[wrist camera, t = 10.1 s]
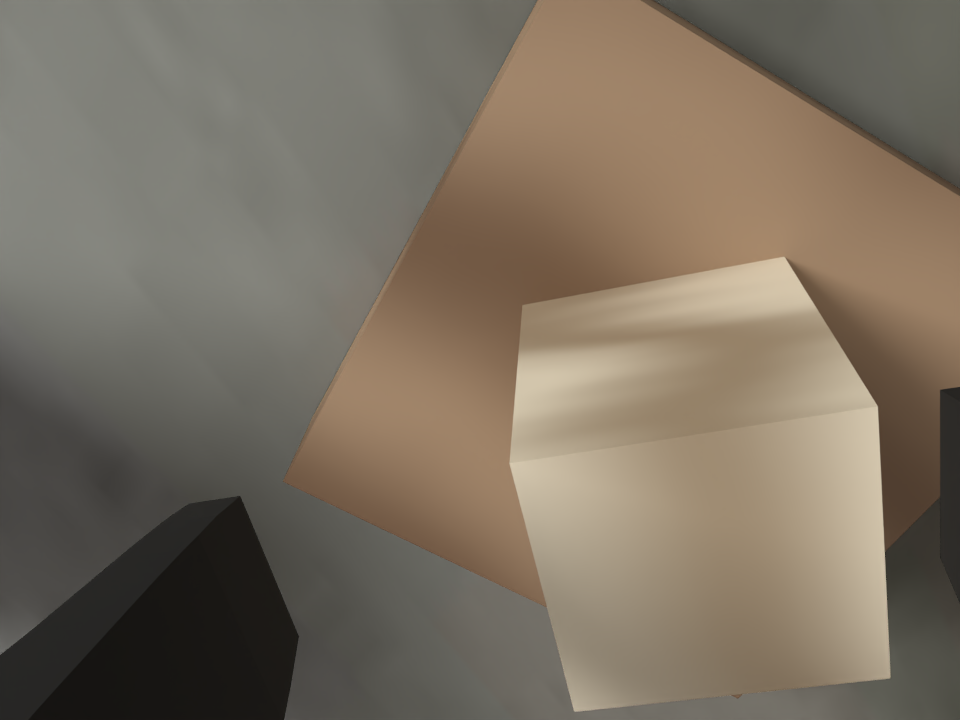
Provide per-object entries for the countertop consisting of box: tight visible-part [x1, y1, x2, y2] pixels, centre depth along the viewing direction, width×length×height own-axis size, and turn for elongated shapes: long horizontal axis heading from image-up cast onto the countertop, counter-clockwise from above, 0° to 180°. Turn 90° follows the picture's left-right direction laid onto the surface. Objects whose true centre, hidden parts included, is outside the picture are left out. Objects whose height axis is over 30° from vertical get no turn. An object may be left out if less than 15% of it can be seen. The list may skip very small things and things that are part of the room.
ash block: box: [509, 257, 891, 712], centre depth 14 cm, size 4×4×5 cm
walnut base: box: [283, 0, 960, 698], centre depth 18 cm, size 11×11×2 cm
